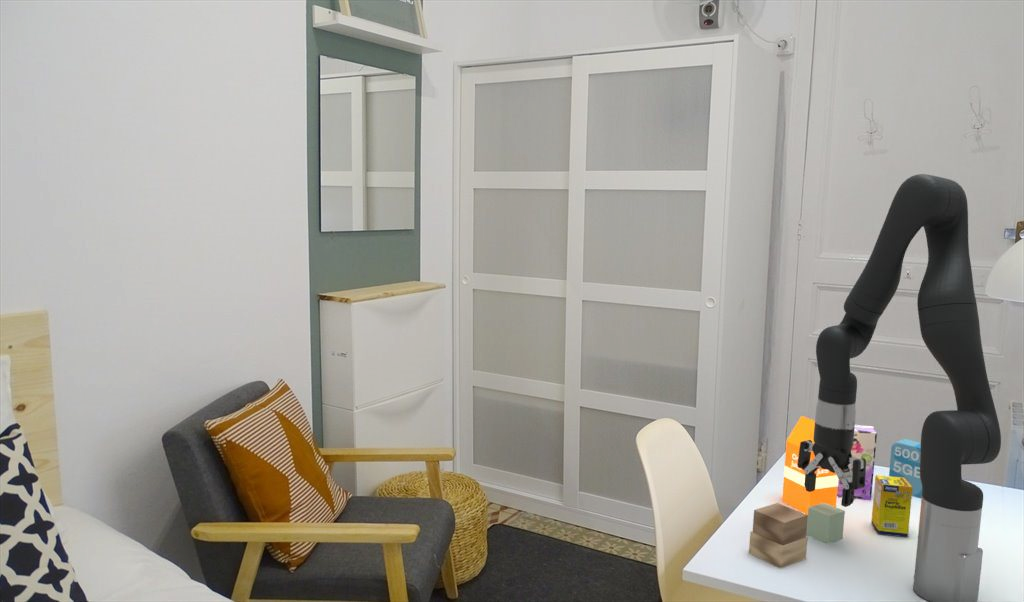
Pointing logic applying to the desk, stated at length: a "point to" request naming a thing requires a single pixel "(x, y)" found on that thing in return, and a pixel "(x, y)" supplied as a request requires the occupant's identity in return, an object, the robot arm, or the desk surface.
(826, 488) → the orange juice
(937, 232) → the robot arm
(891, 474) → the data package
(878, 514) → the supplement box
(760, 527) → the walnut block
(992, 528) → the desk surface
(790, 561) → the oak block
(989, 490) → the desk surface
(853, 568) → the desk surface
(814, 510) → the green block
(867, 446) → the candy box
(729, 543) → the desk surface
